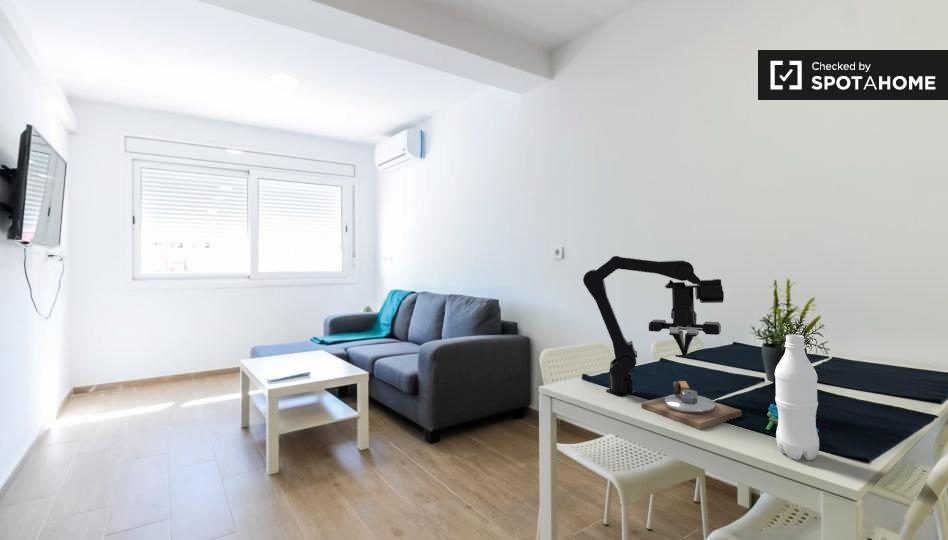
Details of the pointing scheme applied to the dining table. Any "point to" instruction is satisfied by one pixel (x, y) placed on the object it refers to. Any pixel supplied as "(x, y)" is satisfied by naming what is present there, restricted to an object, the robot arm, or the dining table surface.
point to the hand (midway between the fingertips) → (684, 355)
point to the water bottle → (796, 401)
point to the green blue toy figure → (774, 416)
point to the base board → (693, 420)
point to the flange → (689, 401)
